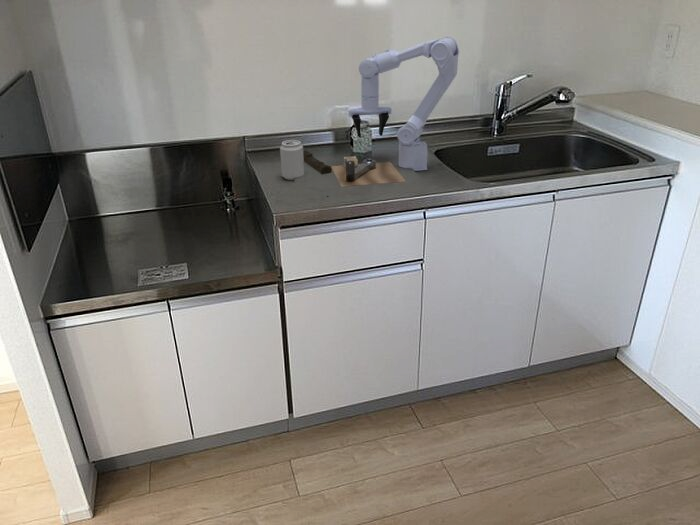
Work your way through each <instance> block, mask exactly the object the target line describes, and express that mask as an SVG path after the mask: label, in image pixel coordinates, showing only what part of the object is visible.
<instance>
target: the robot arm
mask: <svg viewBox="0 0 700 525" xmlns="http://www.w3.org/2000/svg"><path fill="white" fill-rule="evenodd" d="M459 49H460V48H459V47H458V44H457V41H456V40H455V39H454V38H453V37H451V36H444V37H442V38H435V39H432V40H426V41H424V42H422V43H417V45H413V46H411V47H409V48H406V49H403V50H401V51H398V50H396V49H391V48H388V49H385V50H384V52H382V53H380V54H379V53H378V54H373V55H372V57H368V58H365V59H364V60H362V61H361V62H360V64H359V65H358V72H359V74H360V75H361V107H359V108H358V107H357V108H351V109H348V111H347V112H348V116H349V117H351V119H352V121H353V124H354V126H355V128H356V135H357V137H358V138H361V134H362V133H361V132H362V130H361V124H362V119H361V116H370V115H371V116H372V115H378V122H379V123H378V125H379V126H378V135H379V136H380V137H381V136H383V134H384V130H385V127H386V124H387V123H388V120H389V118H390V115H392V108H391V106H379V95H380V94H379V90H380V89H379V88H380V86H379V85H380V84H379V83H380V82H379V78H380V77H379V75H380V74H383V73H386V72H389V71H391V70H395V69H398V68H400V65H401V64H402V62H406V61H409V60H412V59H415V58H418V57H421V56H423V57H425V58H427V59H430V58H431V59H432V60H433V61H434V64H435V65H436V67H437V70H438V75H437V77H436V78H435V80H434V82H433V83H432V85H431V86H430V88H429V89H428V91H427V93H426V94H425V96H424V97H423V99H422V100H421V101H420V103H419V105H418V106H417V108H416V109H415V111H414V112H413V114H412V115H411V116H410V118H409V119H408V120H407V122H406V123H405V124H404V125H403V126H401V127H400V128H399V129H398V130H397V133H396V136H397V140H398V166H399V167H401V168H404V169H412V170H413V171H414V172H419V171H420V172H421V171H428V152H429V151H428V144H427V143H426V141H422V140H421V138H420V136H421V135H422V134H423V130H424V126H425V125H426V123H427V120H428V118H429V117H430V116H431V114H432V113H433V111H434V110H435V108H436V106H438V104H439V102H440V100H441V99H442V98H443V96H444V95H445V93H446V92H447V90H448V89H449V87H450V86H451V84H452V83H453V81H454V80H455V78H456V76H457V74H458V65H459V64H458V63H459V54H460V50H459Z"/></svg>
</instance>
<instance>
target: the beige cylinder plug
mask: <svg viewBox="0 0 700 525" xmlns="http://www.w3.org/2000/svg"><path fill="white" fill-rule="evenodd" d="M347 161H354V162H355V168H356V167H358V164H359V163H358V161H359V160H358V158H357V157H356V158H349V159H347Z"/></svg>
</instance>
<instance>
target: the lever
mask: <svg viewBox="0 0 700 525" xmlns="http://www.w3.org/2000/svg"><path fill="white" fill-rule="evenodd" d="M376 163H377V161H376V159H374V158H372V157H367V158H366V159H363V160H362V163H360V164H361V165H359V166H358V167H356V168H355V162H354V161H346V181H354V180H355V179H356V178H358V177H359V176H361V175H362V174H364V173H365V172H366V171H368V170H369V169H374V168H376Z"/></svg>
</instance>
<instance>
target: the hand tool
mask: <svg viewBox="0 0 700 525" xmlns="http://www.w3.org/2000/svg"><path fill="white" fill-rule="evenodd" d="M303 156H304V163H306V164H307V165H309V166H310V167H312V168H313V169H314V170H316V171H318V172H319V173H320V174H321V175H326V174H329V173H330V174H331V173H332V171H333V169H332V168H331V166H332V165H331V166H330V165H329V164H325V163H324V162H323V161H320V160H319V159H317V158H316V157H314V156H313V153H311V152H310V151H308V150H303Z"/></svg>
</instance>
